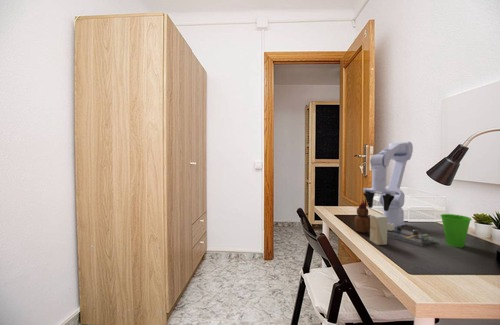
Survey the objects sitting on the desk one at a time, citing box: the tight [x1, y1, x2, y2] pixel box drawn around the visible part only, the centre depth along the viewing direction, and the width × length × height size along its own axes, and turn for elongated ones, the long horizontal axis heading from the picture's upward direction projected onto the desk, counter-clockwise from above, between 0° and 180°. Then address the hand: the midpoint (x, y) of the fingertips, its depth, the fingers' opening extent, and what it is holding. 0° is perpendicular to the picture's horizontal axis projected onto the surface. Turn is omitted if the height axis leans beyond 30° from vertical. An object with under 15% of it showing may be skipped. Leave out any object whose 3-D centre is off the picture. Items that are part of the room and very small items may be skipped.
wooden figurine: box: [353, 198, 370, 234], centre depth 107 cm, size 7×6×15 cm
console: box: [387, 225, 436, 247], centre depth 99 cm, size 10×19×4 cm, turn 28°
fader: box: [387, 223, 396, 231], centre depth 104 cm, size 3×2×3 cm
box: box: [369, 213, 388, 246], centre depth 93 cm, size 5×4×11 cm
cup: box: [440, 213, 472, 248], centre depth 90 cm, size 9×9×11 cm
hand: (377, 209), depth 108 cm, fingers open, 7 cm apart
